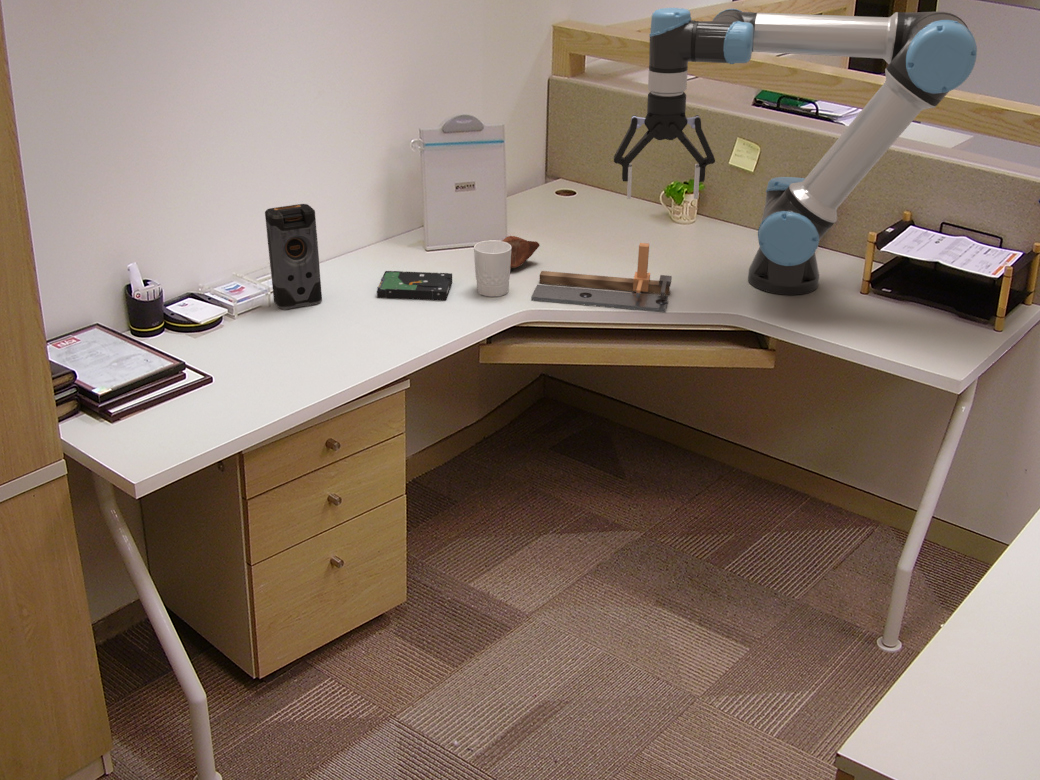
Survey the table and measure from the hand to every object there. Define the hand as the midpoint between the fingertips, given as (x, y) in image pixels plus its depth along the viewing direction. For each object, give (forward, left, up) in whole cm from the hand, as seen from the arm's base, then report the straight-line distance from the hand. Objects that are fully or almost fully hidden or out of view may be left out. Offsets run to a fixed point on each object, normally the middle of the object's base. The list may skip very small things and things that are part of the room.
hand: (662, 196), depth 221 cm
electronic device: (+72, +23, -21) cm, 78 cm away
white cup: (+34, +8, -21) cm, 41 cm away
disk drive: (+50, +11, -22) cm, 56 cm away
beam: (+11, +3, -21) cm, 24 cm away
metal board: (+11, +7, -21) cm, 25 cm away
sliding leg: (+3, +3, -20) cm, 21 cm away
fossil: (+33, -7, -21) cm, 40 cm away
